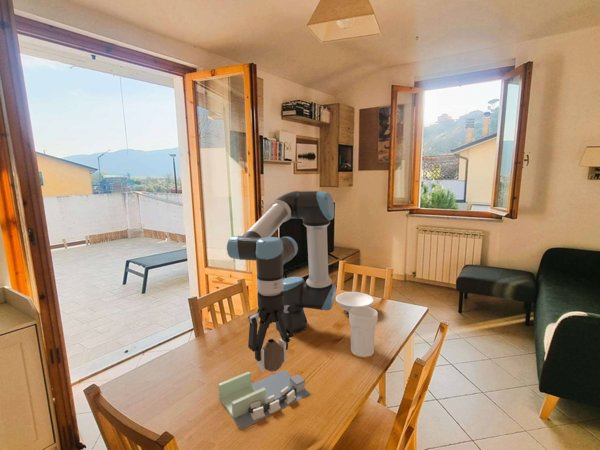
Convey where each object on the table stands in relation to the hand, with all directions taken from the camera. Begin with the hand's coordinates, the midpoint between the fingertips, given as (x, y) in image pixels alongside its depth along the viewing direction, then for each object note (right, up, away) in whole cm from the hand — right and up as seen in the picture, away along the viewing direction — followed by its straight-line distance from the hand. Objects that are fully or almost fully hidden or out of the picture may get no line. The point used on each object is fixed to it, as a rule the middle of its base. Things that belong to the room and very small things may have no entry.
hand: (272, 364), depth 96 cm
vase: (0, -1, 0) cm, 1 cm away
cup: (+34, -10, +34) cm, 49 cm away
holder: (-10, -14, +5) cm, 18 cm away
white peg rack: (+1, -14, +5) cm, 15 cm away
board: (-3, -14, +8) cm, 17 cm away
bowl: (+37, -4, +73) cm, 82 cm away
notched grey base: (+1, -13, +5) cm, 14 cm away
